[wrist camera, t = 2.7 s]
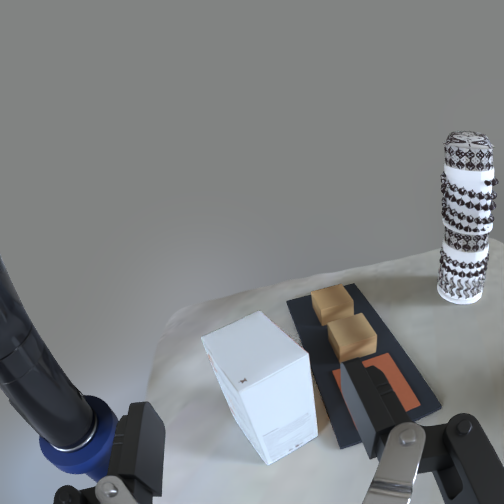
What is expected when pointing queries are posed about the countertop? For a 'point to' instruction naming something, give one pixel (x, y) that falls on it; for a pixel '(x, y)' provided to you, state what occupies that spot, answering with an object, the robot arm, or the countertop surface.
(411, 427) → the robot arm
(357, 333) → the block
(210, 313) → the countertop surface
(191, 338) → the countertop surface
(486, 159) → the decorative candle
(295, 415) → the small box
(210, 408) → the countertop surface
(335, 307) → the letter block
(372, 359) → the word mat
